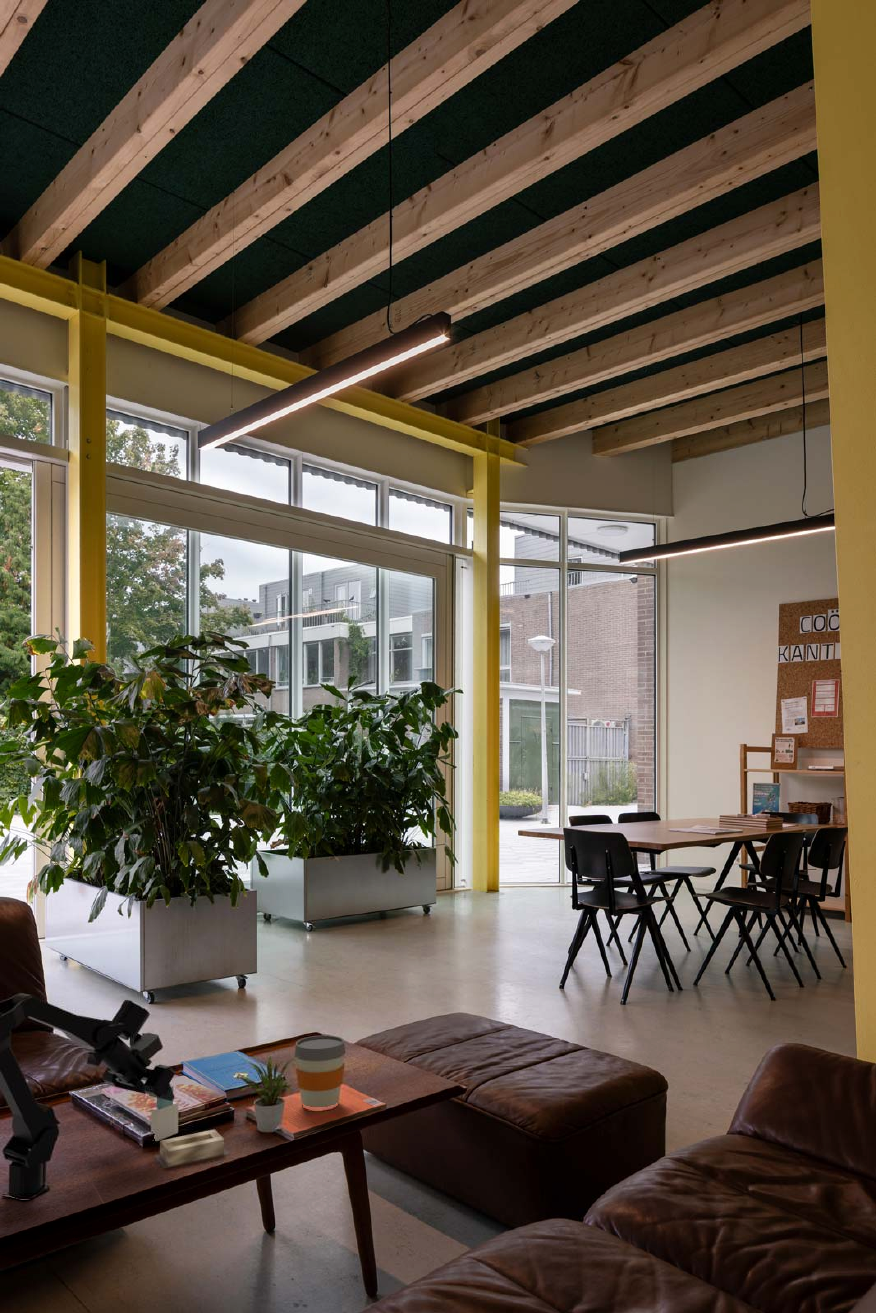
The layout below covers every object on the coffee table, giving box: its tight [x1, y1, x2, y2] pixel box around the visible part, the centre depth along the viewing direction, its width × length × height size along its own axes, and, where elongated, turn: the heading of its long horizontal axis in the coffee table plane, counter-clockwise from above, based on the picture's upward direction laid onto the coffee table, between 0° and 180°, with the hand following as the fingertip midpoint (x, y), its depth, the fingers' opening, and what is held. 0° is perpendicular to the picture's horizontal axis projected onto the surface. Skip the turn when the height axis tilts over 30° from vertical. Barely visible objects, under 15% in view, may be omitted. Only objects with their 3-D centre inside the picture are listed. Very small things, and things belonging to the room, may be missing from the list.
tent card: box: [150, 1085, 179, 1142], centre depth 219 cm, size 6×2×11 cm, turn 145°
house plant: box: [236, 1053, 300, 1133], centre depth 225 cm, size 14×14×16 cm
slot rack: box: [159, 1129, 225, 1168], centre depth 208 cm, size 12×7×3 cm, turn 120°
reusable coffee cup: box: [294, 1035, 346, 1107], centre depth 239 cm, size 13×13×15 cm
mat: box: [154, 1147, 230, 1170], centre depth 208 cm, size 14×8×1 cm, turn 120°
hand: (159, 1095), depth 219 cm, fingers open, 9 cm apart
